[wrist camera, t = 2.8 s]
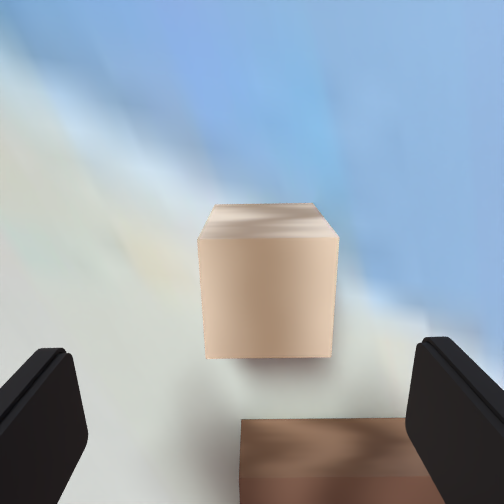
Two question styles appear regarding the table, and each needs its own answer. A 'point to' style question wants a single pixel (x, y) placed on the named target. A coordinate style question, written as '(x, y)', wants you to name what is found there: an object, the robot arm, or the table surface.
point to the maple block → (267, 281)
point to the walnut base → (331, 463)
